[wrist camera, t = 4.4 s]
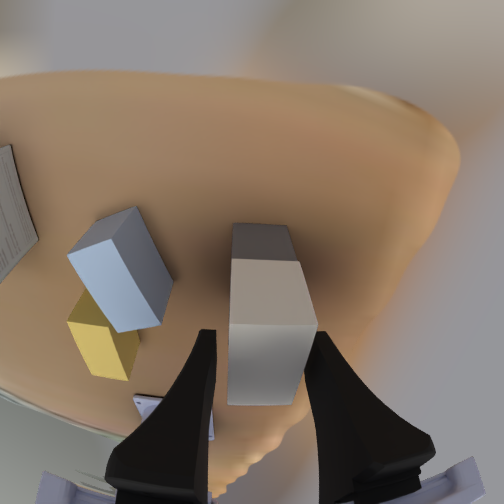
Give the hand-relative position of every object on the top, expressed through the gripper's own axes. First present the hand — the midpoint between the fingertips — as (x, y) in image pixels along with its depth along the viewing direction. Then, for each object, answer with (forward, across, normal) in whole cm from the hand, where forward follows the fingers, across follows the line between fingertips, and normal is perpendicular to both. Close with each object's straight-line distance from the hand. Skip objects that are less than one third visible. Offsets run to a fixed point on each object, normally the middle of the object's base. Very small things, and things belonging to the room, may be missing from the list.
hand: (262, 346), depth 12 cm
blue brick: (+6, +8, 0) cm, 10 cm away
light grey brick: (+2, 0, 0) cm, 3 cm away
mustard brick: (+6, +10, +5) cm, 13 cm away
